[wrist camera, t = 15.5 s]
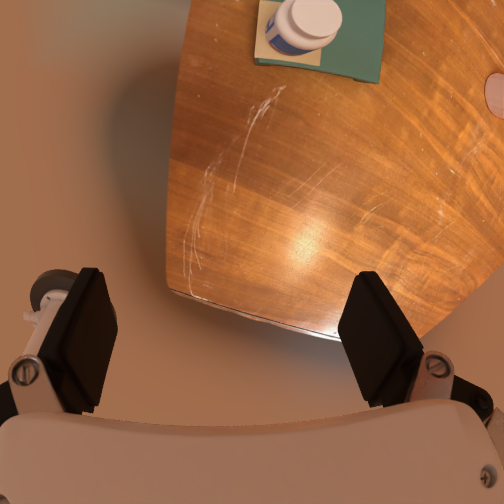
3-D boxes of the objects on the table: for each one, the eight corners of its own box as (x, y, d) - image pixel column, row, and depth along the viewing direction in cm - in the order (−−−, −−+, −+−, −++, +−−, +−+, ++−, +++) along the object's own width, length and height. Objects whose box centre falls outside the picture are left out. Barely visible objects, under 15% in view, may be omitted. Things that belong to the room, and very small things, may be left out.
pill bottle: (321, 50, 26) (360, 41, 17) (274, 62, 26) (297, 54, 18) (304, 7, 23) (337, -18, 14) (256, 18, 23) (271, -8, 15)
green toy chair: (250, 64, 29) (267, 52, 18) (261, -45, 21) (282, -99, 9) (364, 82, 31) (430, 91, 19) (372, -20, 23) (434, -47, 11)
